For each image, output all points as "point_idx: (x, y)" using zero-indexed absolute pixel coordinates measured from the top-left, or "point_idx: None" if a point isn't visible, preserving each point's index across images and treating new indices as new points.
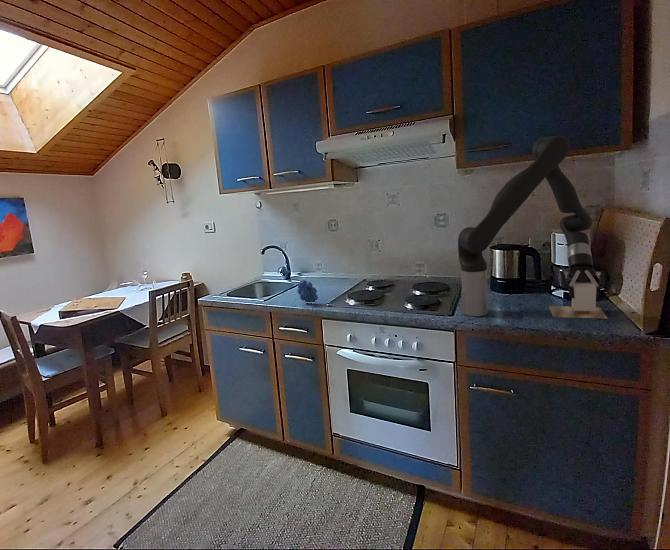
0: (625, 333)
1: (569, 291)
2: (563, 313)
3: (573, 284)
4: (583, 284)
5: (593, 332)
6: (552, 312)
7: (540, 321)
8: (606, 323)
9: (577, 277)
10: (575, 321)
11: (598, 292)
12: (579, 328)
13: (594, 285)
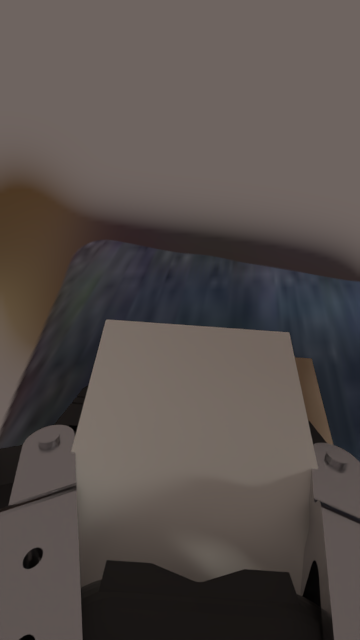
0: (111, 253)
1: (309, 424)
2: None
3: (314, 462)
4: (196, 450)
5: (188, 256)
6: (324, 428)
7: (344, 340)
8: None
9: (327, 626)
10: None
11: (80, 398)
12: (219, 281)
13: (93, 386)
